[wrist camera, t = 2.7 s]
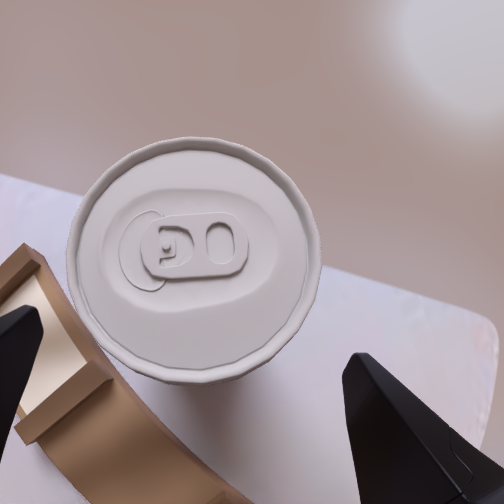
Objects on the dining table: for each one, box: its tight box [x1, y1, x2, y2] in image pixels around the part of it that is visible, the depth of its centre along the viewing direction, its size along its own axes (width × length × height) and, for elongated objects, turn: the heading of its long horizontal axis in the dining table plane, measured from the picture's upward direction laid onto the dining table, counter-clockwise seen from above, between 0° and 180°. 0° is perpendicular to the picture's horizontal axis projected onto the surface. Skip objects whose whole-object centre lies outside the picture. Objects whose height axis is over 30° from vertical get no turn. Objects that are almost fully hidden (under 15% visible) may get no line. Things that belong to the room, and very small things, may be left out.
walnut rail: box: [0, 243, 254, 504], centre depth 11 cm, size 26×7×3 cm, turn 42°
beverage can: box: [66, 137, 322, 386], centre depth 11 cm, size 5×5×12 cm
